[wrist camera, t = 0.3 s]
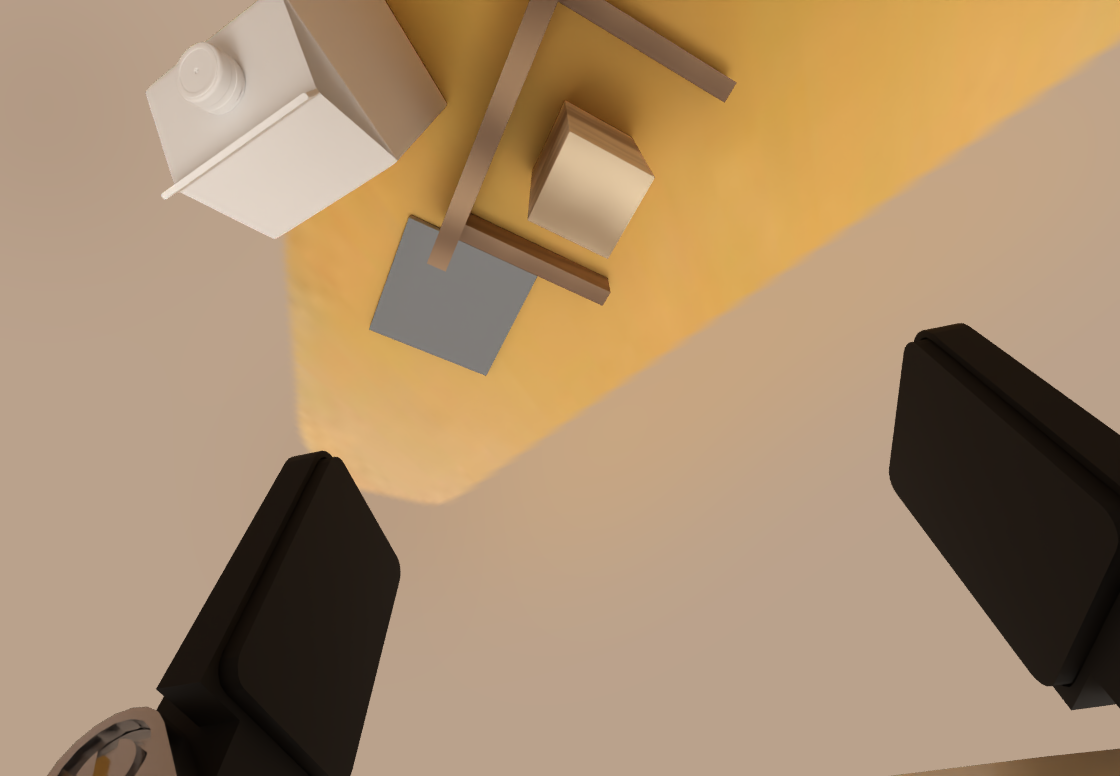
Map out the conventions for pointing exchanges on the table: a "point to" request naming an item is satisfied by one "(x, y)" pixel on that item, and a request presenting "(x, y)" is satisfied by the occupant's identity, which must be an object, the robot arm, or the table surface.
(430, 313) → the coaster
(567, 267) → the wooden arch bench
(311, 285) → the table surface
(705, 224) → the table surface
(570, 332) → the table surface
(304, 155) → the milk carton
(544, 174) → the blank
